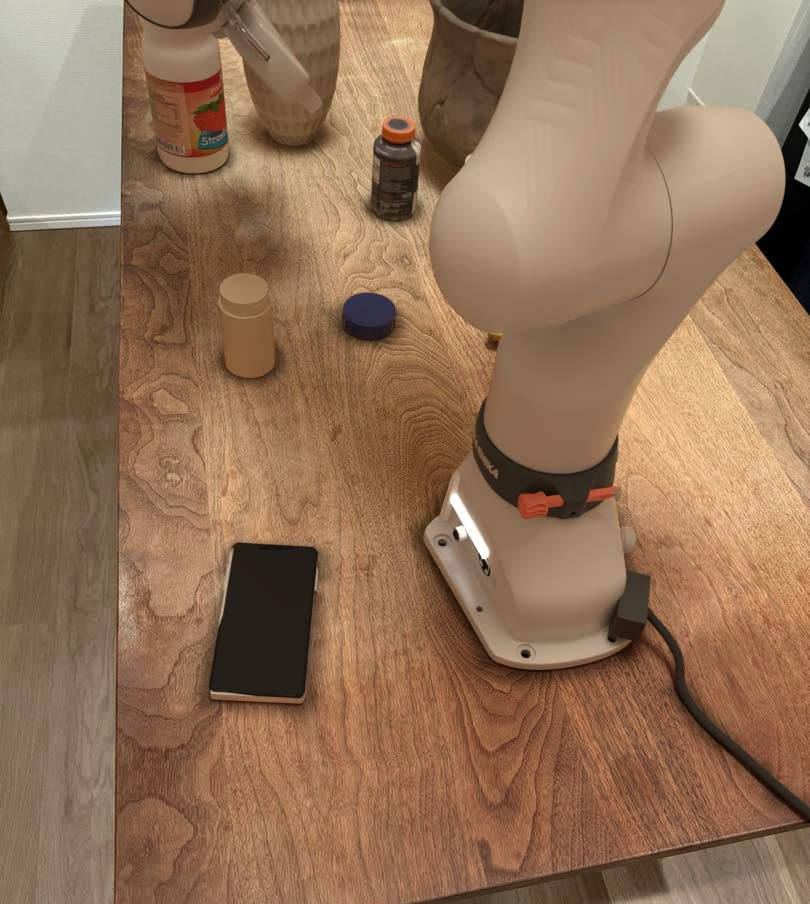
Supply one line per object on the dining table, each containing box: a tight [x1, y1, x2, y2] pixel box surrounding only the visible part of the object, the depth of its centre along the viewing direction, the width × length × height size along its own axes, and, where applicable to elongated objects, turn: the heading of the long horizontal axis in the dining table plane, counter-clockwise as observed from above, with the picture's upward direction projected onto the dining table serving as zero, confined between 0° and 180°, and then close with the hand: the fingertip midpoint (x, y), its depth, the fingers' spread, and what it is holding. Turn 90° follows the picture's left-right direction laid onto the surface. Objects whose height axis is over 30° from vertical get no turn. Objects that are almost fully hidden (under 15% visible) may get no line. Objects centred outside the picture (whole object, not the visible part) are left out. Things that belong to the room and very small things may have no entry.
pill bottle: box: [370, 115, 422, 221], centre depth 109 cm, size 6×6×11 cm
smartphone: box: [208, 541, 319, 705], centre depth 75 cm, size 8×1×15 cm
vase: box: [241, 0, 341, 147], centre depth 111 cm, size 13×13×28 cm
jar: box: [217, 272, 276, 379], centre depth 91 cm, size 5×5×10 cm
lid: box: [341, 291, 397, 341], centre depth 99 cm, size 6×6×2 cm
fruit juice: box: [138, 15, 230, 174], centre depth 106 cm, size 9×9×28 cm
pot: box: [417, 0, 524, 171], centre depth 114 cm, size 25×24×21 cm
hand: (303, 88), depth 96 cm, fingers open, 8 cm apart
